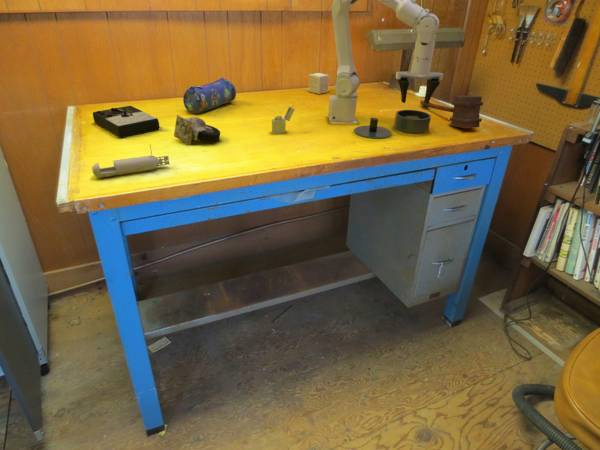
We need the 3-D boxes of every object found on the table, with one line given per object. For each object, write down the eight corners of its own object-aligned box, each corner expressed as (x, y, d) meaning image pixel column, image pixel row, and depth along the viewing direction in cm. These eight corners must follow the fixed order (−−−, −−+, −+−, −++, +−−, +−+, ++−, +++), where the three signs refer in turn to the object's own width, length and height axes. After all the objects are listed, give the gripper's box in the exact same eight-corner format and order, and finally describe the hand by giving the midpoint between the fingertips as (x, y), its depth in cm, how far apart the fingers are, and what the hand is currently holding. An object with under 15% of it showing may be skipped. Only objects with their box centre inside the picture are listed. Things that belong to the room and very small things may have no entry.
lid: (357, 140, 130) (359, 124, 128) (351, 128, 141) (352, 113, 138) (395, 141, 131) (397, 125, 129) (386, 128, 141) (388, 113, 139)
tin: (398, 135, 136) (401, 119, 133) (390, 125, 145) (392, 109, 142) (432, 136, 136) (435, 119, 134) (421, 125, 146) (424, 109, 143)
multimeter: (132, 115, 144) (130, 101, 142) (160, 129, 133) (158, 114, 130) (93, 123, 136) (90, 107, 134) (120, 138, 125) (116, 122, 122)
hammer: (464, 128, 139) (467, 97, 136) (412, 119, 169) (414, 93, 165) (481, 127, 141) (485, 96, 137) (427, 118, 170) (429, 92, 167)
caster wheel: (223, 147, 128) (200, 152, 120) (195, 132, 132) (172, 136, 124) (227, 126, 125) (204, 130, 117) (199, 112, 129) (175, 114, 121)
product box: (328, 92, 182) (329, 74, 178) (319, 94, 178) (320, 76, 175) (317, 89, 186) (318, 72, 182) (308, 91, 182) (309, 74, 178)
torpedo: (95, 182, 99) (88, 156, 96) (93, 174, 103) (87, 149, 99) (171, 169, 107) (168, 145, 103) (167, 163, 110) (164, 139, 107)
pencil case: (199, 116, 146) (197, 88, 141) (181, 112, 149) (178, 85, 144) (238, 103, 162) (237, 77, 158) (220, 99, 166) (219, 74, 161)
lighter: (273, 134, 133) (273, 109, 129) (271, 132, 134) (271, 107, 130) (294, 132, 135) (294, 107, 131) (292, 130, 137) (292, 105, 132)
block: (406, 131, 139) (408, 119, 137) (403, 127, 142) (405, 115, 140) (418, 131, 139) (420, 119, 137) (414, 127, 142) (416, 115, 140)
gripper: (403, 59, 125) (396, 105, 132) (450, 60, 126) (440, 106, 133) (396, 55, 131) (390, 99, 138) (442, 56, 132) (433, 100, 139)
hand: (414, 102), depth 136 cm, fingers open, 7 cm apart
